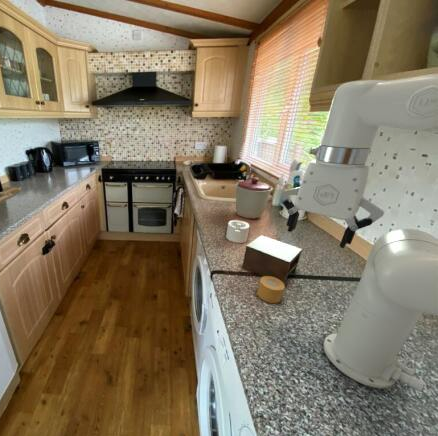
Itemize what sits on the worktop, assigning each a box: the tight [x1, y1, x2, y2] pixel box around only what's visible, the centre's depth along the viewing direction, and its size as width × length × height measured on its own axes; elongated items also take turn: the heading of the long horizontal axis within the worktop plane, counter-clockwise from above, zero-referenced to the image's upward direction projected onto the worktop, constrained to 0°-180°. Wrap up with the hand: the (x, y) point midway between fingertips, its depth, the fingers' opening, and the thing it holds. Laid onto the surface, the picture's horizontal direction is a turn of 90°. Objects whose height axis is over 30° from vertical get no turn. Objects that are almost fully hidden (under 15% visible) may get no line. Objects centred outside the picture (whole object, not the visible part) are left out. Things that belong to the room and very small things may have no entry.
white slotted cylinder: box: [225, 219, 250, 244], centre depth 112 cm, size 20×9×7 cm, turn 157°
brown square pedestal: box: [241, 234, 303, 285], centre depth 85 cm, size 14×12×9 cm
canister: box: [235, 176, 274, 220], centre depth 129 cm, size 18×18×21 cm
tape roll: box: [256, 276, 286, 304], centre depth 73 cm, size 7×7×5 cm
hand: (315, 237), depth 52 cm, fingers open, 9 cm apart
